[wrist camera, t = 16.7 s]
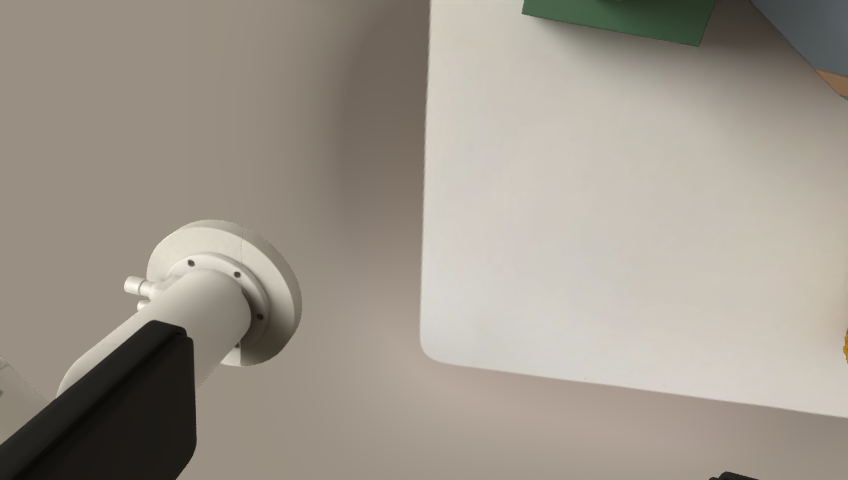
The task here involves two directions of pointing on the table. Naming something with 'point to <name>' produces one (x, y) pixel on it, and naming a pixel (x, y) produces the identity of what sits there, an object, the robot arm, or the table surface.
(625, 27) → the green block
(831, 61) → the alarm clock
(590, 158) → the table surface
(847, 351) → the food
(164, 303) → the robot arm
